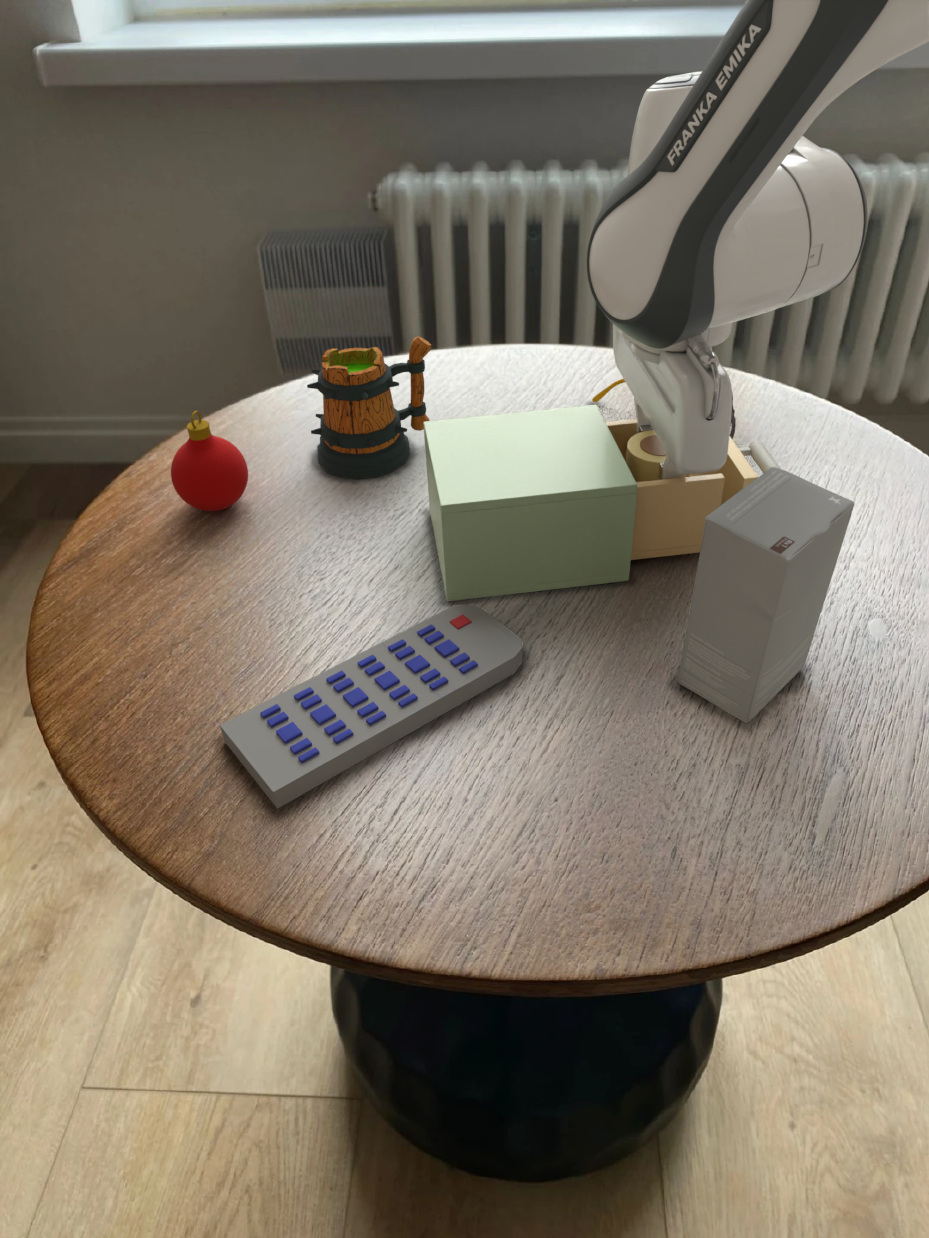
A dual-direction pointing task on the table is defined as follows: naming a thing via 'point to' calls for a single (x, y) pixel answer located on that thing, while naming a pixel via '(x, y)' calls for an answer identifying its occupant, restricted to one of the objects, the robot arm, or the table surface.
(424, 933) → the table surface
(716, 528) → the cosmetic box
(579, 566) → the cabinet
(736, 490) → the drawer
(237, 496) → the christmas ornament
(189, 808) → the table surface
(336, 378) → the mug
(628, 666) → the table surface
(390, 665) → the remote control
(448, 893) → the table surface
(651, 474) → the tape
